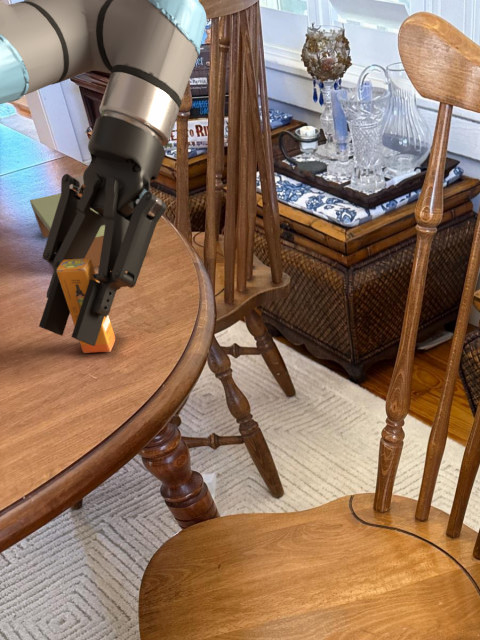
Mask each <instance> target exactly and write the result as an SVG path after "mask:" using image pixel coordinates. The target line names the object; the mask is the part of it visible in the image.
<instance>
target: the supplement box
mask: <svg viewBox="0 0 480 640" xmlns="http://www.w3.org/2000/svg"><path fill="white" fill-rule="evenodd" d="M56 272H57V275H58V278H59V281H60V284H61V287H62V289H63V292H64V295H65V298H66V301H67V304H68V308H69V311H70V314H69V315H70V317H71V320H72V322H73V326H74V327H75V324H76V321H77V318H78V315H79V312H80V309H81V306H82V303H83V300H84V297H85V294H86V290H87V287H88V284H89V281H90V279H91V280H94V281H97V282H98V283H99V281H98V280H96V279H94V278H93V276H92V274H97V273H96V270H95V267H93V263H92V260H91V258H85V259H68V260H63V261H62V262H61V264H60V265H59V267H58V268H57V271H56ZM115 341H116V336H115V332H114V329H113V325H112V323H111V319H110V316H109V314H108V315H107V317H104V319H103V322H102V325H101V328H100V331H99V334H98V337H97V341H96V344H95V346H92V345H89V344H87V343H85V342H82V341H80V340H78V342H79V344H80V347H81V348H80V349H81V350H82V353H84V354H89V353H90V354H91V353H111V352H112V349H113V347H114V344H115Z"/></svg>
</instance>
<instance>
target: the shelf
mask: <svg viewBox="0 0 480 640" xmlns="http://www.w3.org/2000/svg"><path fill="white" fill-rule="evenodd" d="M60 196H61V193H57V194H51V195H47V196H43V197H38V198H33V199H29V203H30V205H31V208H32V211H33V214H34V218H35V220H36V222H37V223H36V224H37V226H38V229H39V231H40V235H42V237H43V238H48V236H49V232H50V229H51V226H52V223H53V219H54V216H55V213H56V209H57V206H58V203H59V200H60ZM90 209H91V208H90ZM91 210H92V211H94V212H95V213H98V212H96V211H95V210H93V209H91ZM104 230H105V225H102V226H101V227H100V229H99V231H98V233H97V235H96V237H95V239H94V241H93V243H92V245H91V247H90V248H89V250H88V252H87V254H86V256H85V258H91V260H92V263H93V267H94V268H97V267H98V268H99V264H100V257H101V250H102V243H103V237H104ZM85 258H84V259H85Z"/></svg>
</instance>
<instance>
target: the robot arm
mask: <svg viewBox="0 0 480 640" xmlns="http://www.w3.org/2000/svg"><path fill="white" fill-rule="evenodd" d="M207 20H208V19H207V13H206V11H205V8H204V6H203V4H201V2H200V0H23V1H18V2H13V3H9V4H7V3H6V2H4V0H0V105H2V104H7V103H13V102H16V101H19V100H20V99H22V98H23V97H24V96H27V95H29V94H32V93H34V92H36V91H38V90H41V89H43V88H46V87H48V86H52V85H57V84H59V83H62V82H65V81H67V80H70V79H72V78H74V77H78V76H81V75H83V74H86V73H88V72H92V71H94V72H95V71H97V72H102V73H106V74H110V75H109V79H108V82H107V84H106V87H105V90H104V93H103V96H102V99H101V102H100V105H99V107H98V109H99V111H98V112H99V113H100V116H98V117H96V118H95V122H94V125H93V128H92V132H91V135H90V136H89V137H90V138H89V141H88V144H87V149H88V151H89V154H90V159H91V160H90V163H89V164H88V166H87V167H86V168H85V170H84V171H83V174H82V175H79V176H75V177H73V176H72V175H70V174H69V173H65V174H63V175H62V177H61V183H60V185H61V186H60V194H61V196H60V200H59V203H58V206H57V209H56V213H55V216H54V219H53V223H52V226H51V229H50V232H49V236H48V237H47V239H46V242H45V246H44V249H43V252H42V259H43V261H46V262H47V263H48V264H49V265H50V266H52V268H53V271H52V275H51V278H50V282H49V285H48V288H47V290H46V298H47V300H46V303H45V306H44V310H43V312H42V315H41V319H40V322H39V325H38V327H39V328H41V329H43V330H46V331H49V332H51V333H53V334H56V335H59V336H62V337H63V336H64V332H65V330H66V325H67V323H68V320H69V317H70V315H71V314H70V311H69V308H68V304H67V301H66V298H65V295H64V292H63V289H62V287H61V284H60V281H59V278H58V275H57V272H56V271H57V268H58V267H59V265H60V264H61V262H62V261H63V260H68V259H84V258H85V256H86V254H87V252H88V250H89V248H90V247H91V245H92V243H93V241H94V239H95V237H96V235H97V233H98V231H99V229H100V227H101V226H102V225H105V230H104V237H103V243H102V250H101V257H100V264H99V266H98V270H97V273H96V274H92V276H93V278H94V279H96V280H98V282H97V281H94V280H91V279H90V281H89V284H88V287H87V290H86V294H85V297H84V300H83V303H82V306H81V309H80V312H79V315H78V318H77V321H76V324H75V326H74V327H73V331H72V334H71V338H73V339H76V340H77V341H79V340H80V341H82V342H85V343H87V344H89V345H92V346H95V344H96V341H97V337H98V334H99V331H100V328H101V325H102V322H103V319H104V317H107V315H108V316H109V314H110V312H111V308H112V305H113V303H114V299H115V297H116V293H117V291H118V290H121V288H125V287H128V288H129V289H132V288H134V287H135V286H136V284H137V282H138V278H139V275H140V273H141V270H142V267H143V264H144V261H145V258H146V255H147V253H148V250H149V247H150V243H151V241H152V238H153V235H154V232H155V229H156V227H157V224H158V222H159V220H160V219H161V218H162V216H163V215H164V213H165V212H166V210H167V204H166V202H165V201H163V200H162V199H161V198H159V197H157V196H156V195H155V194H154V193H152V192H151V183H153V182H155V181H157V180H158V177H159V175H160V171H161V168H162V166H163V163H164V159H165V156H166V150H165V146H168V145H169V143H170V140H171V137H172V134H173V131H174V129H175V128H174V127H175V125H176V121H177V119H178V116H179V112H180V109H181V105H182V100H183V97H184V94H185V92H186V89H187V87H188V84H189V81H190V78H191V76H192V73H193V71H194V68H195V65H196V63H197V60H198V57H199V56H200V54H201V46H202V43H203V42H202V41H203V38H204V33H205V30H206V26H207V22H208V21H207ZM90 208H91V209H93V210H95V211H96V212H98V213H95V212H94V211H92V210H91V209H90ZM80 341H79V342H80Z"/></svg>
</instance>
